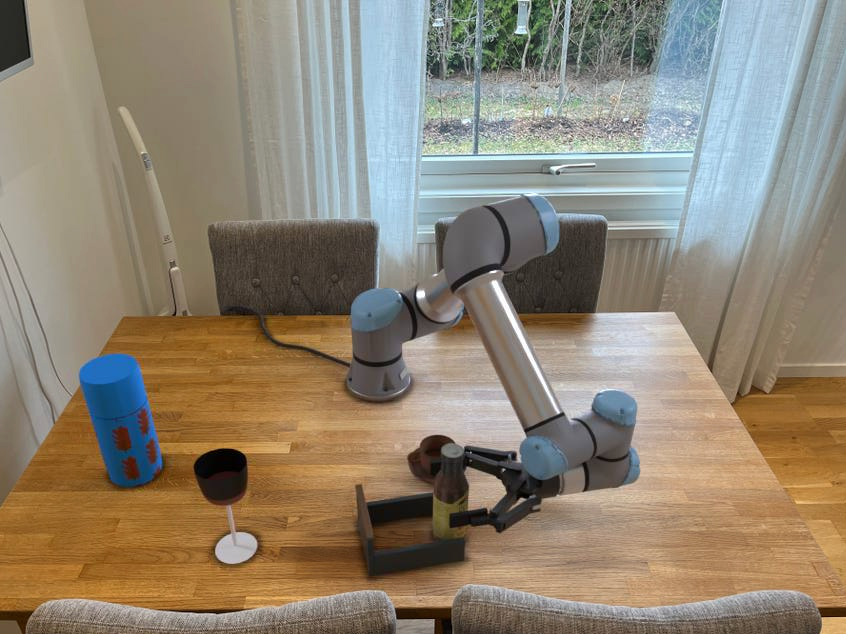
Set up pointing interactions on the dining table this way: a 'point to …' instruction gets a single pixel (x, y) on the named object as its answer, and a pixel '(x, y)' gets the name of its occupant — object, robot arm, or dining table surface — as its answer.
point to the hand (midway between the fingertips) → (439, 493)
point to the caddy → (405, 555)
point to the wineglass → (226, 497)
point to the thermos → (121, 418)
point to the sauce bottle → (449, 493)
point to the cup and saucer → (427, 456)
